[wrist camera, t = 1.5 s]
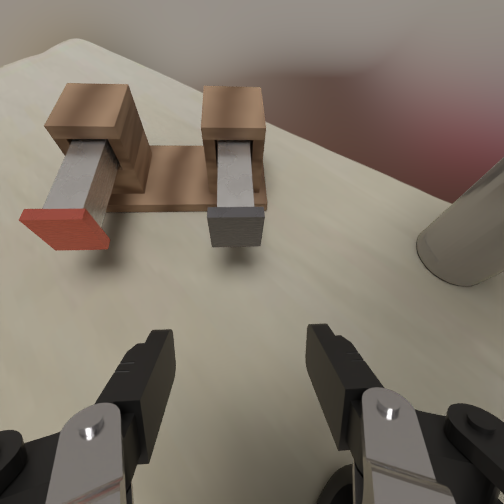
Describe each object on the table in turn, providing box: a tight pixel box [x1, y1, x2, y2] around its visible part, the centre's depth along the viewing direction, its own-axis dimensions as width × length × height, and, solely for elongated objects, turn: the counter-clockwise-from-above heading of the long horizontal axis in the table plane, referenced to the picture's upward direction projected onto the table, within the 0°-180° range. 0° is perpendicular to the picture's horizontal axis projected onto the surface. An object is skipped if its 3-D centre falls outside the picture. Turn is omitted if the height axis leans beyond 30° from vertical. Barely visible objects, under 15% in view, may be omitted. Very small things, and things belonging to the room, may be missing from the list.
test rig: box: [44, 83, 267, 212], centre depth 35 cm, size 25×12×12 cm, turn 93°
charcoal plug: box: [207, 140, 265, 247], centre depth 30 cm, size 5×15×5 cm, turn 3°
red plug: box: [19, 139, 120, 250], centre depth 28 cm, size 5×15×5 cm, turn 3°
